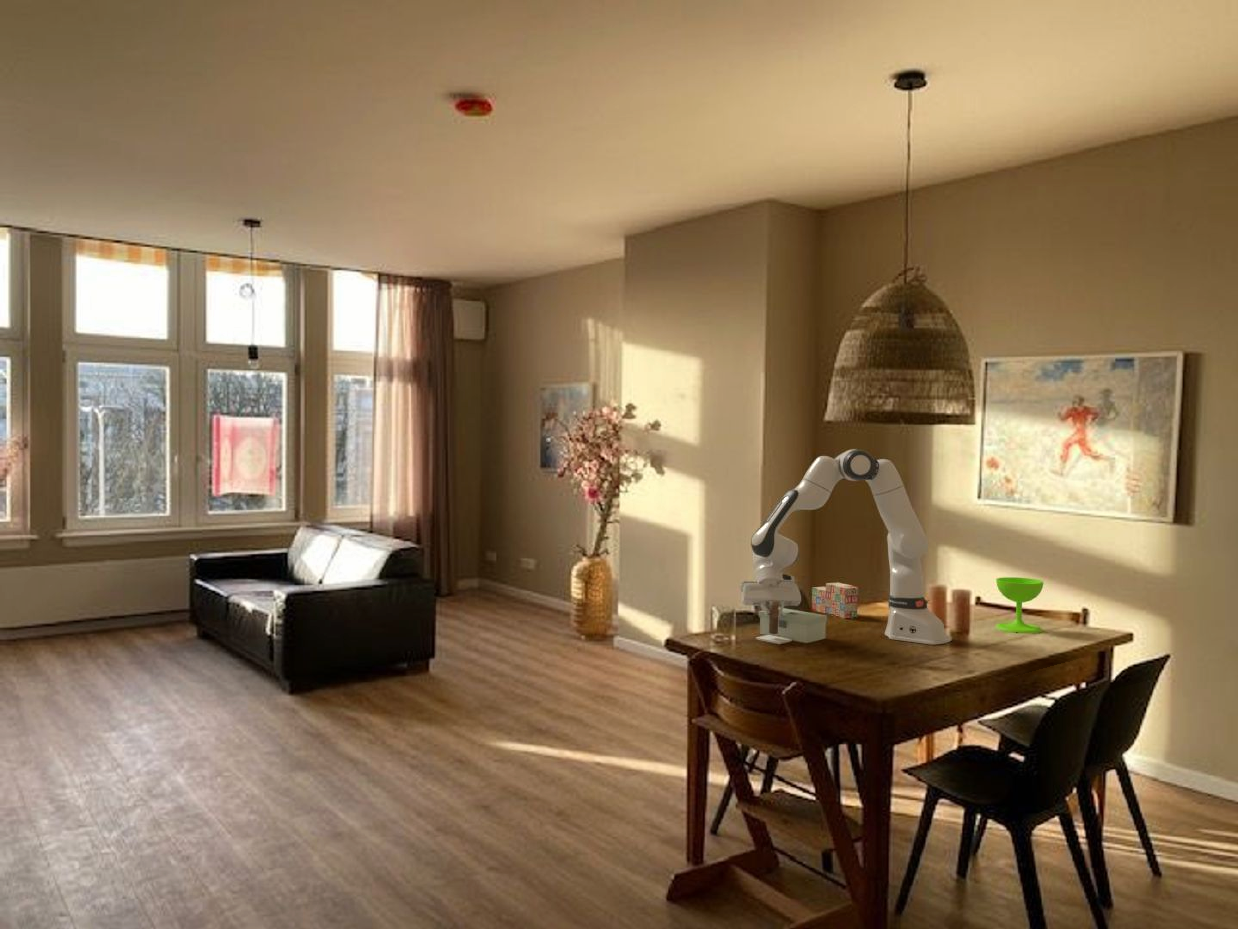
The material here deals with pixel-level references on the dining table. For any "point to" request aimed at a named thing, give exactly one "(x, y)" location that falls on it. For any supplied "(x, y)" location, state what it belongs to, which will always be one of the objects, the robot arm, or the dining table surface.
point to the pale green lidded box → (796, 625)
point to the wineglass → (1019, 601)
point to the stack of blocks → (836, 599)
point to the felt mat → (773, 639)
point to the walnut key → (773, 617)
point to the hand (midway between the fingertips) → (774, 614)
